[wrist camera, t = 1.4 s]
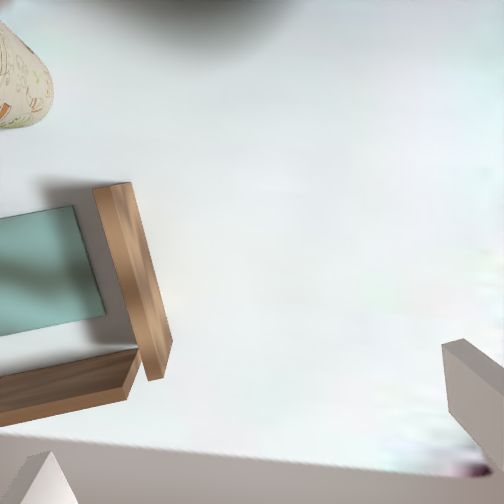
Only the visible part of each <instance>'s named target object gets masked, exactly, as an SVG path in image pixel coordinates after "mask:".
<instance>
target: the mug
mask: <svg viewBox="0 0 504 504" xmlns="http://www.w3.org/2000/svg"><path fill="white" fill-rule="evenodd" d="M53 94H54V92H53V83H52V79H51V76H50V74H49V72H48V70H47V68H46V66H45V65H44V63H43V62H42V61H41V60H40V58H39V57H38V56H37V55H36V54H35V53H34V52H33V51H32V50H31V49H30V48H29V47H28V46H27V45H26V44H24V43H23V42H22V41H21V40H20V39H19V38H18V37H17V36H16V35H15V34H14V33H13V32H12V31H11V30H10V29H9V28H8V27H7V26H6V25H5V24H4V23H3V22H2V21H1V20H0V129H2V128H20V127H27V126H30V125H33V124H35V123H37V122H38V121H40V120H41V119H42V118H43V117H44V116H45V115H46V114H47V113H48V111H49V109H50V107H51V105H52V101H53Z"/></svg>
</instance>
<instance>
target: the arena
mask: <svg viewBox="0 0 504 504" xmlns="http://www.w3.org/2000/svg"><path fill="white" fill-rule="evenodd" d="M92 191H93V194H94V197H95V201H96V204H97V208H98V211H99V215H100V218H101V222H102V225H103V228H104V232H105V235H106V239H107V242H108V246H109V249H110V252H111V256H112V259H113V263H114V266H115V270H116V273H117V276H118V280H119V283H120V287H121V290H122V294H123V297H124V300H125V304H126V307H127V311H128V314H129V318H130V321H131V325H132V328H133V331H134V335H135V338H136V342H137V345H138V348H137V349H133V350H128V351H123V352H118V353H113V354H109V355H104V356H99V357H94V358H90V359H85V360H80V361H75V362H70V363H66V364H61V365H56V366H51V367H47V368H42V369H37V370H32V371H28V372H23V373H18V374H13V375H8V376H4V377H0V427H4V426H8V425H13V424H18V423H22V422H27V421H32V420H36V419H41V418H45V417H50V416H55V415H59V414H64V413H68V412H73V411H78V410H82V409H87V408H92V407H96V406H101V405H105V404H110V403H115V402H119V401H124V400H127V397H128V395H129V392H130V390H131V387H132V385H133V382H134V379H135V377H136V374H137V372H138V369H139V366H140V364H141V361H142V362H143V366H144V369H145V373H146V376H147V379H148V381H152V380H157V379H161V378H163V377H164V373H165V370H166V366H167V362H168V358H169V354H170V350H171V346H172V342H173V340H172V336H171V333H170V329H169V325H168V321H167V317H166V314H165V310H164V306H163V302H162V298H161V294H160V291H159V287H158V283H157V279H156V275H155V272H154V268H153V264H152V260H151V256H150V252H149V249H148V245H147V241H146V237H145V233H144V230H143V226H142V222H141V218H140V214H139V211H138V207H137V203H136V199H135V195H134V191H133V188H132V184H131V182H129V183H124V184H118V185H113V186H107V187H102V188H97V189H92ZM105 314H106V313H105V309H104V306H103V303H102V300H101V297H100V293H99V290H98V287H97V284H96V280H95V277H94V274H93V271H92V267H91V264H90V261H89V258H88V254H87V251H86V248H85V245H84V241H83V238H82V235H81V232H80V229H79V225H78V222H77V219H76V216H75V212H74V209H73V206H68V207H62V208H57V209H52V210H46V211H41V212H36V213H30V214H25V215H20V216H14V217H9V218H4V219H0V336H5V335H10V334H15V333H20V332H25V331H30V330H35V329H40V328H45V327H49V326H54V325H59V324H64V323H69V322H74V321H79V320H84V319H89V318H94V317H99V316H103V315H105Z"/></svg>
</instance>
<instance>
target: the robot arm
mask: <svg viewBox="0 0 504 504" xmlns="http://www.w3.org/2000/svg"><path fill="white" fill-rule="evenodd" d="M441 345H442V354H443V363H444V372H445V381H446V390H447V400H448V409H449V413H450V414H451V415H452V416H453V417H454V418H455V420H456V421H457V422H458V423H459V424H460V425H461V426H462V427H463V428H464V430H465V431H466V432H467V433H468V434H469V435H470V436H471V437H472V439H473V440H474V441H475V442H476V443H477V444H478V445H479V446H480V447H481V449H482V450H483V451H484V452H485V453H486V454H487V455H488V456H489V457H490V459H491V460H492V461H493V462H494V463H495V464H496V465H497V466H498V467H499V469H500V470H501V471H502V472H503V473H504V368H503V367H502V366H500V365H499V364H498V363H496V362H495V361H494V360H492V359H491V358H489V357H488V356H487V355H485V354H484V353H483V352H481V351H480V350H479V349H477V348H476V347H475V346H473V345H472V344H471V343H469V342H468V341H467V340H465V339H464V338H463V339H460V340H456V341H452V342H449V343H445V344H441ZM0 504H78V502H77V500H76V498H75V496H74V494H73V492H72V490H71V488H70V486H69V484H68V482H67V480H66V478H65V476H64V475H63V472H62V471H61V469H60V467H59V465H58V463H57V461H56V459H55V457H54V455H53V453H52V451H47V452H44V453H40V454H36V455H32V456H29V457H27V459H26V461H25V462H24V464H23V466H22V467H21V469H20V470H19V471H18V473H17V475H16V476H15V478H14V479H13V481H12V482H11V484H10V485H9V487H8V489H7V490H6V492H5V493H4V495H3V496H2V498H1V499H0Z"/></svg>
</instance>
